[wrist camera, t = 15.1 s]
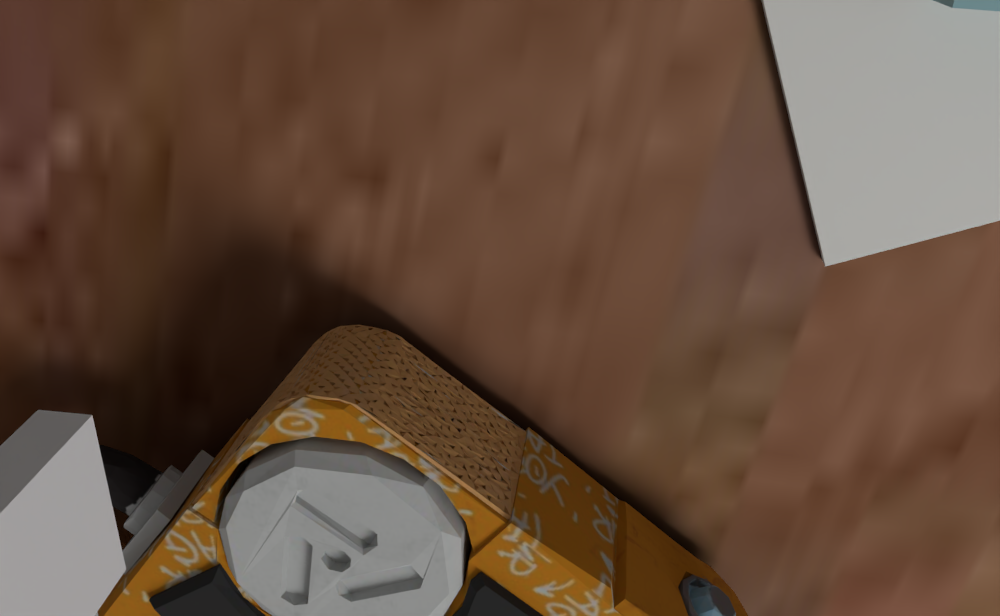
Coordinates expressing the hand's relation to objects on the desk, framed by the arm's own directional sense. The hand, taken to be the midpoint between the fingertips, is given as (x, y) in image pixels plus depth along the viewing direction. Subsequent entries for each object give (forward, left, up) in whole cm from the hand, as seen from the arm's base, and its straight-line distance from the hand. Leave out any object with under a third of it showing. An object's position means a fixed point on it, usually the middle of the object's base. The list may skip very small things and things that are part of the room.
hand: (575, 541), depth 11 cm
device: (+16, -17, -23) cm, 33 cm away
